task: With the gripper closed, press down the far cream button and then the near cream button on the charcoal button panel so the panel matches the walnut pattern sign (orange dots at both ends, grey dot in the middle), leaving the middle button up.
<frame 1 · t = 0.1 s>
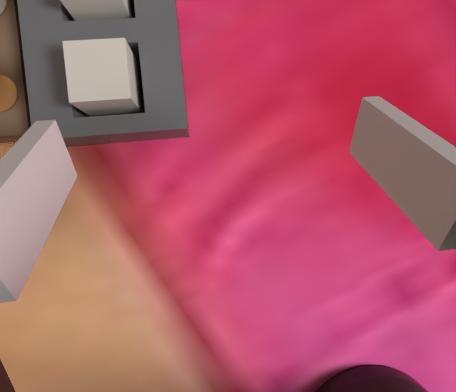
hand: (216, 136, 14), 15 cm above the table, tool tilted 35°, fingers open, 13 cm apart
pattern sign: (7, 17, 27), on the table
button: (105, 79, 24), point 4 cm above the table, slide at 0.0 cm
button panel: (110, 12, 28), on the table
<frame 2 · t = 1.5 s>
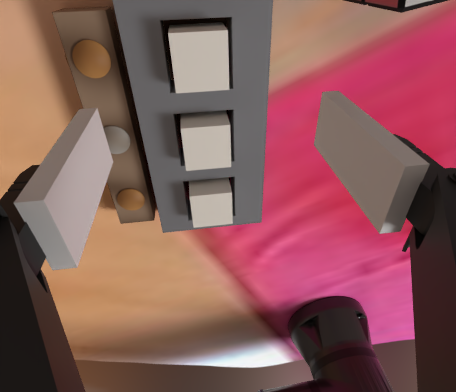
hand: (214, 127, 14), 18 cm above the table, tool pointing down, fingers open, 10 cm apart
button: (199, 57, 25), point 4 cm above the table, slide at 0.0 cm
pattern sign: (118, 129, 32), on the table
middle button: (205, 139, 30), point 4 cm above the table, slide at 0.0 cm
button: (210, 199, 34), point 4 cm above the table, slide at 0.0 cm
button panel: (203, 122, 33), on the table
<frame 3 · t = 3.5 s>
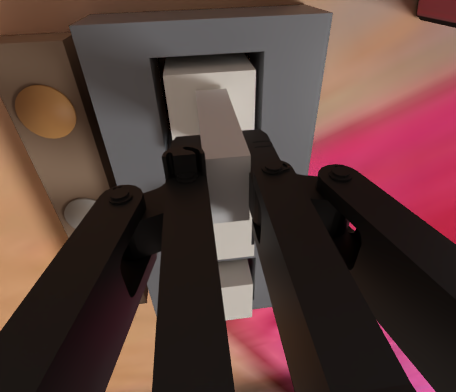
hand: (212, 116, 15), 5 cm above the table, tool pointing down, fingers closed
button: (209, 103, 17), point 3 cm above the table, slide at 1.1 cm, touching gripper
pattern sign: (96, 193, 23), on the table
middle button: (217, 215, 21), point 4 cm above the table, slide at 0.0 cm
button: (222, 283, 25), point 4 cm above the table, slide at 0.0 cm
button panel: (212, 183, 24), on the table
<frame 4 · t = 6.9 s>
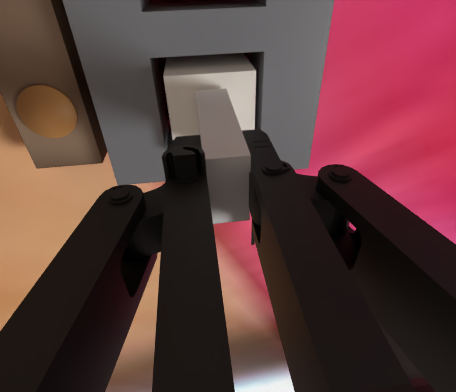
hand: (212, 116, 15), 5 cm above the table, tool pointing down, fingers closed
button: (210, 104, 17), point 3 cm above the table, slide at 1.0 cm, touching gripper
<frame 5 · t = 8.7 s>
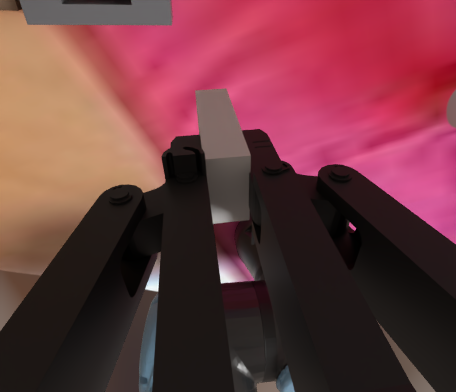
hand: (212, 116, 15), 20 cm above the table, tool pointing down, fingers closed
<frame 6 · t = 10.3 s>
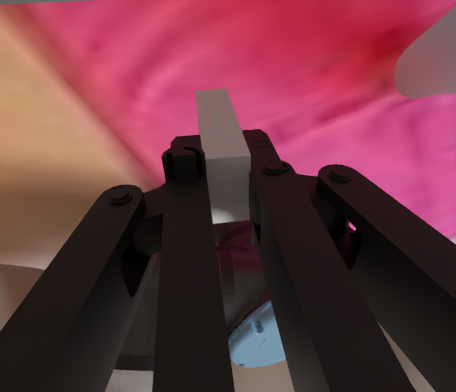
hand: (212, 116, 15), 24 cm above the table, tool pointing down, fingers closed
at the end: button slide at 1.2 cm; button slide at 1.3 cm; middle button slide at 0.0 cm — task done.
